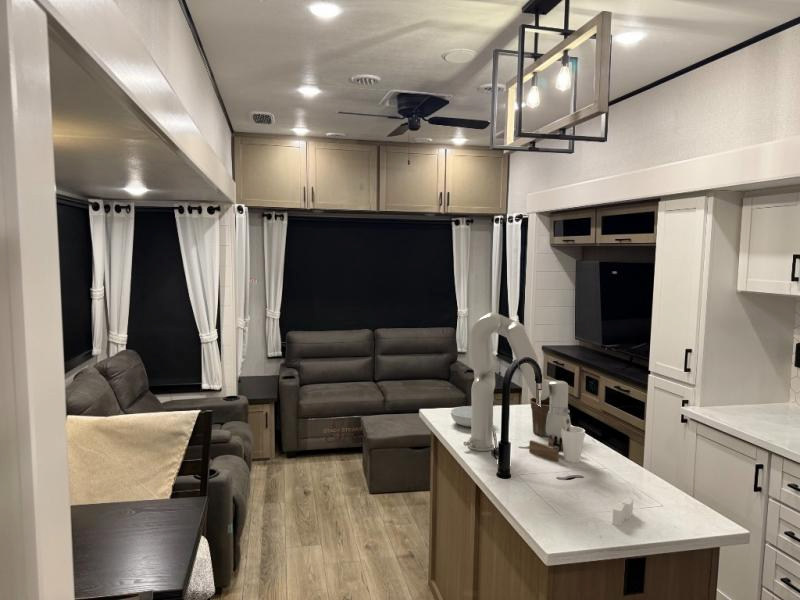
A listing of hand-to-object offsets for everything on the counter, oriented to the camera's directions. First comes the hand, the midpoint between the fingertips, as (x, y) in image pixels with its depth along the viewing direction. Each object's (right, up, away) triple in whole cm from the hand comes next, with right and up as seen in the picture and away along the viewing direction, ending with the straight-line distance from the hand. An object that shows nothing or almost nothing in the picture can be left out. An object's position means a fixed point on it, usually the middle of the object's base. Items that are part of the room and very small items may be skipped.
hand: (557, 451), depth 231 cm
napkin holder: (+5, -6, -59) cm, 59 cm away
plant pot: (+3, 0, +29) cm, 29 cm away
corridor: (-1, -1, +2) cm, 2 cm away
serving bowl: (-32, +2, +42) cm, 53 cm away
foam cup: (+4, -2, -6) cm, 8 cm away
